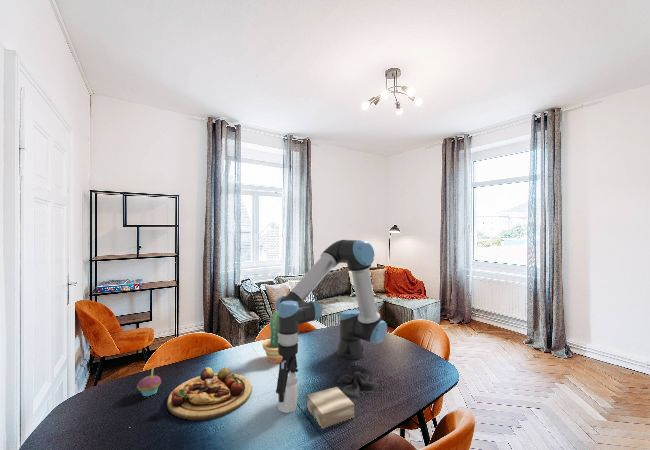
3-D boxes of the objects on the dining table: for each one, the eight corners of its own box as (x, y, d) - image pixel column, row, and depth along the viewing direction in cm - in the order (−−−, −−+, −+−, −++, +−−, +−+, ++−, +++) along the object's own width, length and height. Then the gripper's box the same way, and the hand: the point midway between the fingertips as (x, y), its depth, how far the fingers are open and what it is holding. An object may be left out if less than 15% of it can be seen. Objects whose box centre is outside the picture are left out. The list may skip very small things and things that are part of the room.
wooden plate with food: (165, 433, 97) (166, 408, 97) (167, 386, 125) (168, 367, 125) (260, 408, 111) (260, 387, 111) (242, 371, 140) (243, 354, 140)
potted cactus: (296, 360, 150) (297, 312, 150) (269, 368, 141) (269, 317, 141) (283, 350, 163) (283, 305, 163) (257, 357, 154) (257, 309, 154)
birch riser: (307, 408, 110) (307, 394, 110) (336, 399, 116) (336, 386, 116) (322, 429, 99) (322, 414, 99) (354, 417, 104) (354, 404, 105)
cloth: (342, 402, 115) (343, 386, 115) (330, 378, 133) (330, 365, 133) (393, 394, 120) (393, 379, 121) (375, 372, 138) (375, 360, 138)
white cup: (294, 415, 106) (294, 388, 106) (274, 412, 107) (274, 385, 107) (300, 403, 113) (300, 377, 114) (281, 400, 115) (281, 375, 115)
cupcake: (165, 390, 121) (166, 362, 122) (147, 402, 113) (147, 371, 114) (150, 387, 124) (151, 359, 124) (131, 398, 116) (132, 368, 116)
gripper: (287, 331, 124) (287, 381, 123) (267, 355, 99) (266, 418, 99) (304, 332, 122) (304, 382, 122) (288, 357, 98) (287, 421, 97)
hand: (287, 398), depth 110 cm, fingers open, 13 cm apart
